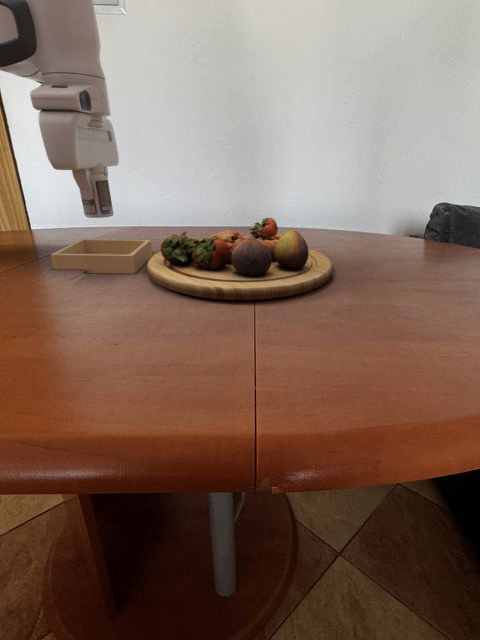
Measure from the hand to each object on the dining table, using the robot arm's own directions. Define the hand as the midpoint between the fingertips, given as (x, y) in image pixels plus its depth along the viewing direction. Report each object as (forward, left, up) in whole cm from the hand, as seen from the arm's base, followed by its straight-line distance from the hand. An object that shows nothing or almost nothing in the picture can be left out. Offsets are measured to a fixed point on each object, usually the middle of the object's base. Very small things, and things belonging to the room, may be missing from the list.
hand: (95, 197), depth 65 cm
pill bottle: (0, 0, -3) cm, 3 cm away
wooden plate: (+25, -4, -12) cm, 28 cm away
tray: (0, 0, -12) cm, 12 cm away
